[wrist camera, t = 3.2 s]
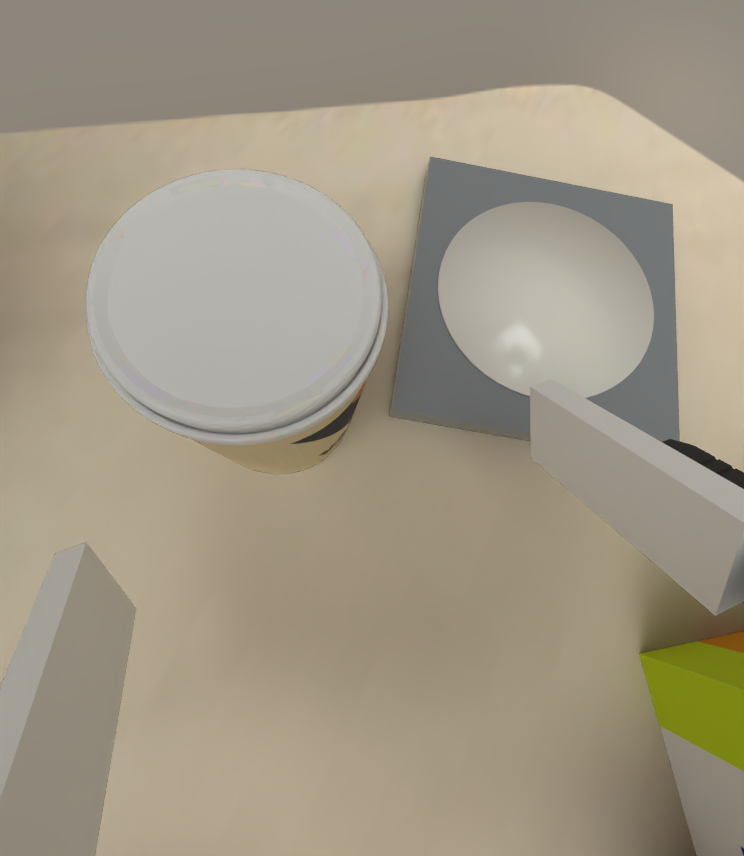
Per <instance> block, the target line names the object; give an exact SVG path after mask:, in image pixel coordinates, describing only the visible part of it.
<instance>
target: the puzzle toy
mask: <svg viewBox="0 0 744 856" xmlns="http://www.w3.org/2000/svg"><path fill="white" fill-rule="evenodd" d="M639 655H640V658H641V662H642V666H643V669H644V673H645V676H646V680H647V683H648V687H649V690H650V694H651V697H652V701H653V704H654V708H655V711H656V715H657V718H658V722H659V725H660V729H661V732H662V736H663V739H664V743H665V746H666V750H667V753H668V757H669V761H670V764H671V768H672V771H673V775H674V778H675V782H676V785H677V789H678V792H679V796H680V799H681V803H682V806H683V810H684V813H685V817H686V820H687V824H688V827H689V831H690V834H691V838H692V841H693V845H694V848H695V852H696V856H744V631H742V632H737V633H733V634H728V635H724V636H719V637H714V638H710V639H705V640H700V641H696V642H691V643H687V644H682V645H677V646H673V647H668V648H663V649H659V650H654V651H649V652H645V653H640V654H639Z"/></svg>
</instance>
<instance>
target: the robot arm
mask: <svg viewBox="0 0 744 856" xmlns="http://www.w3.org/2000/svg"><path fill="white" fill-rule="evenodd" d="M530 435H531V458H532V459H533V460H534V461H535V462H536V463H537V464H539V465H540V466H541V467H542V468H543V469H544V470H546V471H547V472H548V473H549V474H550V475H551V476H553V477H554V478H555V479H556V480H557V481H558V482H560V483H561V484H562V485H563V486H564V487H565V488H567V489H568V490H569V491H570V492H571V493H572V494H574V495H575V496H576V497H577V498H578V499H579V500H581V501H582V502H583V503H584V504H585V505H586V506H588V507H589V508H590V509H591V510H592V511H593V512H595V513H596V514H597V515H598V516H599V517H600V518H602V519H603V520H604V521H605V522H606V523H607V524H609V525H610V526H611V527H612V528H613V529H615V530H616V531H617V532H618V533H619V534H620V535H622V536H623V537H624V538H625V539H626V540H627V541H629V542H630V543H631V544H632V545H633V546H634V547H636V548H637V549H638V550H639V551H640V552H641V553H643V554H644V555H645V556H646V557H647V558H648V559H650V560H651V561H652V562H653V563H654V564H655V565H657V566H658V567H659V568H660V569H661V570H662V571H664V572H665V573H666V574H667V575H668V576H669V577H671V578H672V579H673V580H674V581H675V582H676V583H678V584H679V585H680V586H681V587H682V588H683V589H685V590H686V591H687V592H688V593H689V594H690V595H692V596H693V597H694V598H695V599H696V600H697V601H699V602H700V603H701V604H702V605H703V606H705V607H706V608H707V609H708V610H709V611H710V612H712V613H713V614H714V615H715V616H716V615H718V614H720V613H722V612H724V611H726V610H728V609H730V608H732V607H734V606H736V605H738V604H740V603H743V602H744V473H743V472H742V471H740V470H738V469H733V468H732V466H731V465H729V464H727V463H725V462H723V461H721V460H716V459H715V457H714V456H712V455H710V454H708V453H707V452H705V451H703V450H701V449H699V448H697V447H696V446H693V445H690V444H686V443H683V442H679V441H676V440H673V439H668V440H665V441H663V442H661V441H659V440H657V439H655V438H654V437H652V436H650V435H648V434H647V433H645V432H643V431H641V430H640V429H638V428H636V427H635V426H633V425H631V424H629V423H628V422H626V421H624V420H622V419H621V418H619V417H617V416H615V415H614V414H612V413H610V412H608V411H607V410H605V409H603V408H601V407H600V406H598V405H596V404H594V403H593V402H591V401H589V400H588V399H586V398H584V397H582V396H581V395H579V394H577V393H575V392H574V391H572V390H570V389H568V388H567V387H565V386H563V385H561V384H560V383H558V382H556V381H554V380H553V379H550V380H547V381H544V382H541V383H538V384H536V385H533V386H530ZM135 613H136V607H135V606H134V605H133V603H132V602H131V601H130V599H129V598H128V597H127V595H126V594H125V593H124V591H123V590H122V589H121V587H120V586H119V585H118V583H117V582H116V581H115V580H114V578H113V577H112V576H111V574H110V573H109V572H108V570H107V569H106V568H105V566H104V565H103V564H102V562H101V561H100V560H99V558H98V557H97V556H96V554H95V553H94V552H93V551H92V549H91V548H90V547H89V545H88V544H87V543H83V544H80V545H77V546H74V547H71V548H69V549H66V550H63V551H60V552H57V553H55V555H54V557H53V560H52V562H51V565H50V567H49V570H48V572H47V575H46V577H45V580H44V582H43V584H42V587H41V589H40V592H39V594H38V597H37V599H36V602H35V604H34V606H33V609H32V611H31V614H30V616H29V619H28V621H27V624H26V626H25V628H24V631H23V633H22V636H21V638H20V641H19V643H18V646H17V648H16V651H15V653H14V655H13V658H12V660H11V663H10V665H9V668H8V670H7V673H6V675H5V677H4V680H3V682H2V685H1V687H0V856H95V853H96V847H97V841H98V835H99V829H100V823H101V817H102V811H103V805H104V799H105V793H106V787H107V781H108V775H109V769H110V763H111V757H112V751H113V745H114V739H115V733H116V727H117V721H118V715H119V709H120V703H121V697H122V691H123V685H124V679H125V673H126V667H127V661H128V655H129V649H130V643H131V637H132V631H133V625H134V619H135Z"/></svg>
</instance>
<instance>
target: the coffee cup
mask: <svg viewBox="0 0 744 856" xmlns="http://www.w3.org/2000/svg"><path fill="white" fill-rule="evenodd" d="M86 313H87V325H88V334H89V338H90V342H91V346H92V350H93V352H94V355H95V357H96V360H97V362H98V364H99V366H100V368H101V370H102V372H103V374H104V375H105V377H106V378H107V380H108V381H109V382H110V384H111V385H112V387H113V388H114V389H115V390H116V392H117V393H118V394H119V395H120V396H121V397H122V398H123V399H124V400H125V401H126V402H127V403H128V404H129V405H130V406H131V407H132V408H134V409H135V410H136V411H137V412H138V413H140V414H141V415H143V416H144V417H145V418H147V419H148V420H150V421H151V422H153V423H155V424H157V425H159V426H161V427H163V428H165V429H167V430H169V431H171V432H174V433H176V434H179V435H182V436H184V437H187V438H191V439H192V440H194V441H196V442H198V443H200V444H202V445H204V446H206V447H207V448H209V449H211V450H213V451H215V452H217V453H219V454H221V455H223V456H225V457H227V458H229V459H231V460H233V461H235V462H237V463H239V464H241V465H243V466H245V467H248V468H250V469H253V470H255V471H260V472H264V473H270V474H288V473H294V472H298V471H302V470H305V469H307V468H310V467H312V466H314V465H316V464H317V463H319V462H320V461H322V460H323V459H324V458H326V457H327V456H328V455H329V454H330V453H331V452H332V451H333V450H334V449H335V448H336V447H337V445H338V444H339V442H340V441H341V439H342V438H343V436H344V434H345V432H346V430H347V428H348V426H349V423H350V421H351V418H352V416H353V413H354V411H355V408H356V405H357V403H358V400H359V398H360V395H361V393H362V390H363V388H364V385H365V382H366V379H367V377H368V375H369V374H370V372H371V371H372V369H373V367H374V364H375V362H376V360H377V358H378V356H379V354H380V351H381V348H382V345H383V342H384V338H385V333H386V328H387V321H388V293H387V287H386V281H385V277H384V274H383V270H382V267H381V265H380V262H379V260H378V258H377V255H376V253H375V252H374V250H373V248H372V246H371V244H370V243H369V241H368V240H367V239H366V237H365V236H364V234H363V233H362V231H361V230H360V228H359V227H358V225H357V224H356V222H355V221H354V220H353V219H352V218H351V217H350V216H349V215H348V214H347V212H345V211H344V210H343V209H342V208H341V207H340V206H339V205H338V204H337V203H335V202H334V201H333V200H331V199H330V198H329V197H327V196H326V195H325V194H323V193H321V192H319V191H318V190H316V189H314V188H312V187H310V186H308V185H306V184H304V183H302V182H300V181H297V180H295V179H292V178H289V177H286V176H282V175H279V174H275V173H271V172H264V171H258V170H248V169H226V170H214V171H209V172H204V173H199V174H195V175H191V176H187V177H184V178H181V179H179V180H176V181H174V182H171V183H169V184H167V185H165V186H162V187H160V188H158V189H156V190H155V191H153V192H152V193H150V194H148V195H147V196H146V197H144V198H143V199H141V200H140V201H138V202H137V203H135V204H134V205H133V206H132V207H131V208H130V209H129V210H128V211H127V212H126V213H125V214H124V215H123V216H122V217H121V218H120V219H119V220H118V221H117V222H116V223H115V224H114V225H113V226H112V228H111V229H110V231H109V232H108V234H107V235H106V237H105V238H104V240H103V242H102V243H101V245H100V247H99V248H98V250H97V253H96V255H95V258H94V260H93V263H92V266H91V269H90V273H89V276H88V282H87V289H86Z"/></svg>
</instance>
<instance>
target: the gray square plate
mask: <svg viewBox="0 0 744 856" xmlns="http://www.w3.org/2000/svg"><path fill="white" fill-rule="evenodd" d="M550 379H553V380H554V381H556V382H558V383H560V384H561V385H563V386H565V387H567V388H568V389H570V390H572V391H574V392H575V393H577V394H579V395H581V396H582V397H584V398H586V399H588V400H589V401H591V402H593V403H594V404H596V405H598V406H600V407H601V408H603V409H605V410H607V411H608V412H610V413H612V414H614V415H615V416H617V417H619V418H621V419H622V420H624V421H626V422H628V423H629V424H631V425H633V426H635V427H636V428H638V429H640V430H641V431H643V432H645V433H647V434H648V435H650V436H652V437H654V438H655V439H657V440H659V441H661V442H663V441H665V440H668V439H673V440H676V441H679V408H678V374H677V341H676V307H675V273H674V239H673V206H672V204H668V203H663V202H658V201H653V200H648V199H643V198H638V197H633V196H628V195H623V194H617V193H612V192H607V191H602V190H597V189H592V188H587V187H582V186H577V185H572V184H567V183H562V182H557V181H551V180H546V179H541V178H536V177H531V176H526V175H521V174H516V173H511V172H506V171H501V170H496V169H491V168H486V167H480V166H475V165H470V164H465V163H460V162H455V161H450V160H445V159H440V158H435V157H430V160H429V164H428V168H427V172H426V177H425V184H424V190H423V197H422V203H421V210H420V216H419V223H418V230H417V236H416V243H415V249H414V256H413V262H412V269H411V275H410V282H409V289H408V295H407V302H406V308H405V315H404V321H403V328H402V334H401V341H400V347H399V354H398V361H397V367H396V374H395V380H394V387H393V393H392V400H391V406H390V413H389V417H395V418H401V419H407V420H412V421H418V422H424V423H430V424H435V425H441V426H447V427H452V428H458V429H464V430H470V431H475V432H481V433H487V434H493V435H498V436H504V437H510V438H516V439H521V440H527V441H531V435H530V386H533V385H536V384H538V383H541V382H544V381H547V380H550Z"/></svg>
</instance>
